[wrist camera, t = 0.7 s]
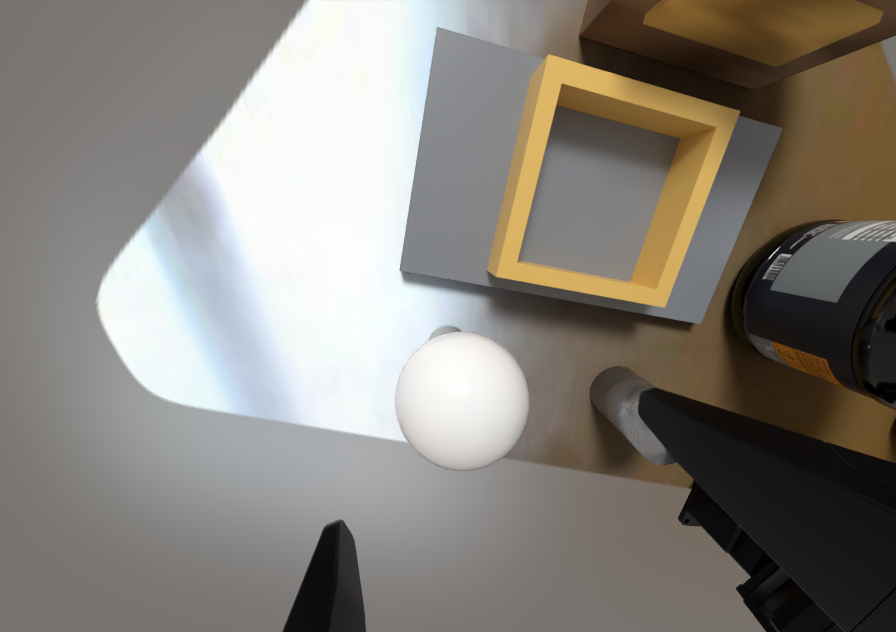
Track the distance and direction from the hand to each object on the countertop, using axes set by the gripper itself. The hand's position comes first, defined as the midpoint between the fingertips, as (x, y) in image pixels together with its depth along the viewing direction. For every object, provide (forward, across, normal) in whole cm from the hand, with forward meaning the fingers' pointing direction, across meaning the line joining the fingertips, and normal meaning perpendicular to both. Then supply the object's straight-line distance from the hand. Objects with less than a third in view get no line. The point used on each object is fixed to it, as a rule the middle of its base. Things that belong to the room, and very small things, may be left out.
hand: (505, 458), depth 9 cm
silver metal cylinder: (+10, -13, +12) cm, 20 cm away
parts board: (+13, -12, -3) cm, 18 cm away
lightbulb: (+14, -2, +4) cm, 15 cm away
